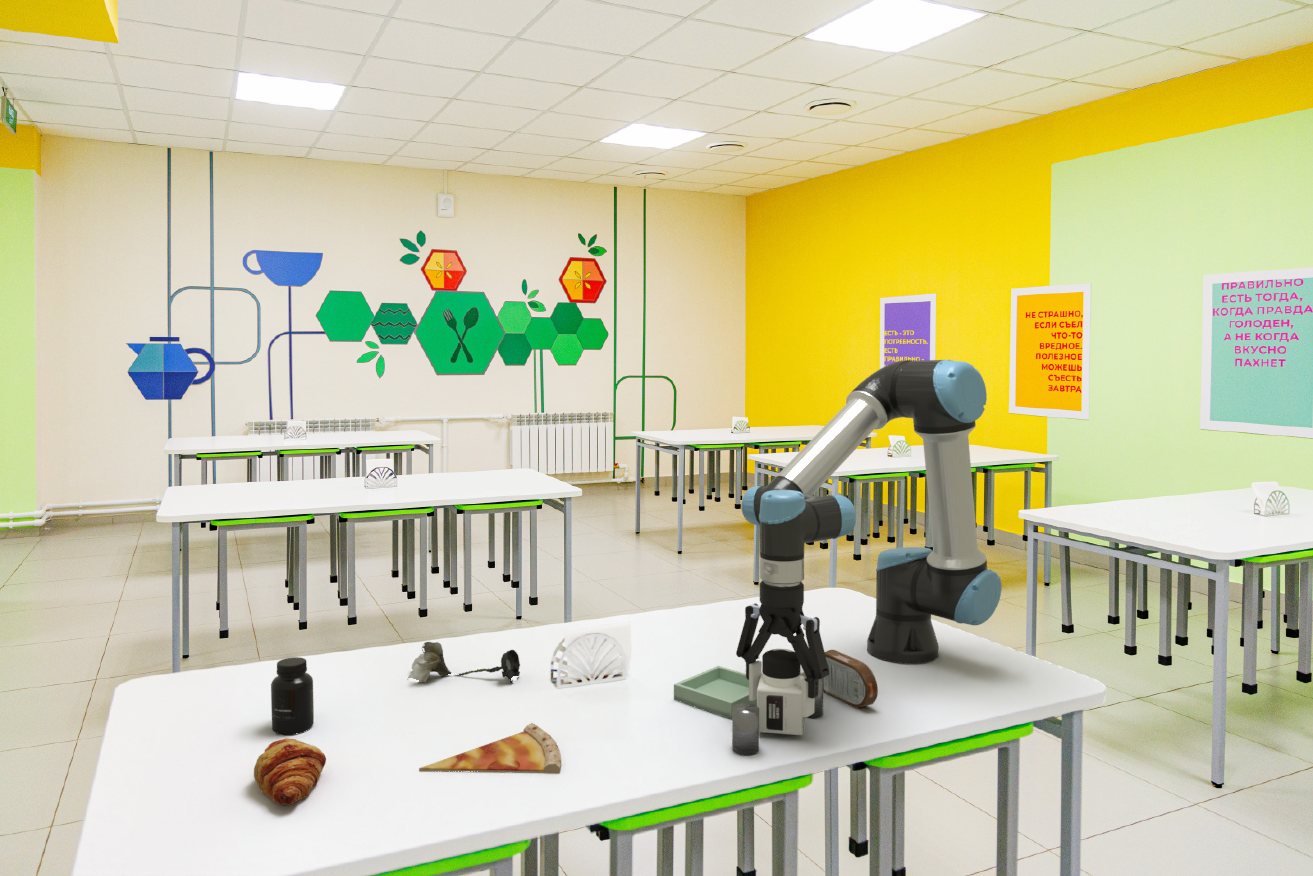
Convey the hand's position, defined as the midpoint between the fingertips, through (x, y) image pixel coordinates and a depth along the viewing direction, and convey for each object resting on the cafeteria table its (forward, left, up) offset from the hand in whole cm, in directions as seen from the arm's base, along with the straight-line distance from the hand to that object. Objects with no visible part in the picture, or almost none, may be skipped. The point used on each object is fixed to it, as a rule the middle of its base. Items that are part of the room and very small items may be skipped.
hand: (781, 706), depth 153 cm
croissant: (+66, -45, -5) cm, 80 cm away
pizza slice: (+37, -30, -5) cm, 48 cm away
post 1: (+10, 0, -4) cm, 11 cm away
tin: (-20, +1, -5) cm, 20 cm away
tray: (-5, -16, -4) cm, 17 cm away
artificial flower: (+23, -62, -5) cm, 66 cm away
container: (0, 0, -4) cm, 4 cm away
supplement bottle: (+56, -64, -4) cm, 85 cm away
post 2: (-10, 0, -4) cm, 11 cm away
